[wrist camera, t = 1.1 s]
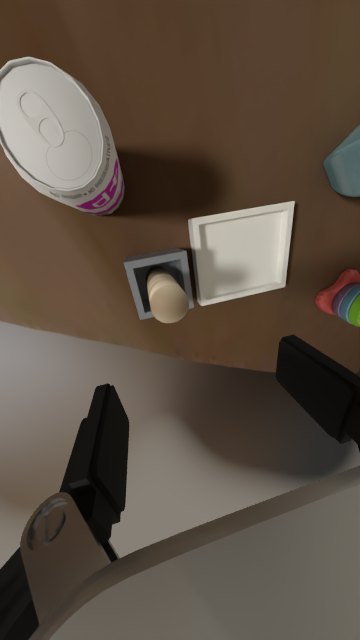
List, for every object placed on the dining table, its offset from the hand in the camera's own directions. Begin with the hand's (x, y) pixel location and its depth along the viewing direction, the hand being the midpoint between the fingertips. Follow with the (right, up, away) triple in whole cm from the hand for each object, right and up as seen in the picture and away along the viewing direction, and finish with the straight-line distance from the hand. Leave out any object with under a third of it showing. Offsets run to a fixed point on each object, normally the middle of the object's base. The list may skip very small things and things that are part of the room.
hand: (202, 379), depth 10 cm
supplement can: (-14, +23, +16) cm, 31 cm away
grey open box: (-5, +11, +24) cm, 27 cm away
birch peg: (-5, +11, +23) cm, 26 cm away
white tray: (+10, +16, +25) cm, 31 cm away
